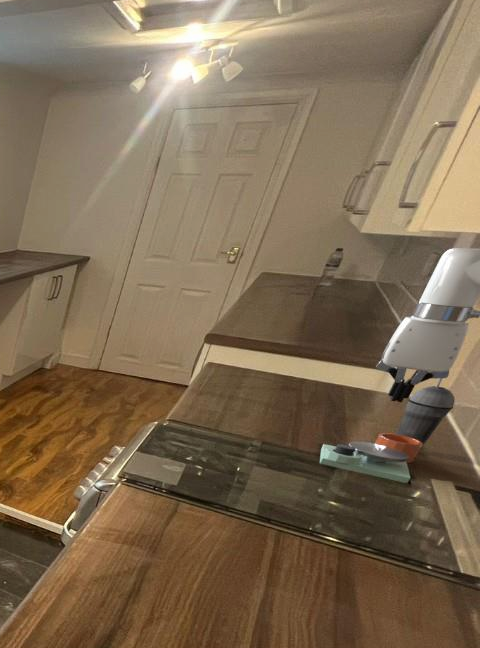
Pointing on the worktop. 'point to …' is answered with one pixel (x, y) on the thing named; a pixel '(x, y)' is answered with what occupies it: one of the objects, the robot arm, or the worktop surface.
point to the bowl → (400, 444)
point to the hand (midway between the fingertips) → (395, 400)
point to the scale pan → (378, 453)
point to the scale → (364, 465)
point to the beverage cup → (426, 412)
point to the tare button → (345, 449)
